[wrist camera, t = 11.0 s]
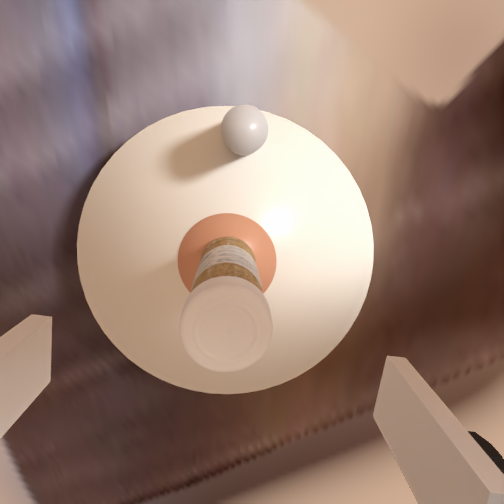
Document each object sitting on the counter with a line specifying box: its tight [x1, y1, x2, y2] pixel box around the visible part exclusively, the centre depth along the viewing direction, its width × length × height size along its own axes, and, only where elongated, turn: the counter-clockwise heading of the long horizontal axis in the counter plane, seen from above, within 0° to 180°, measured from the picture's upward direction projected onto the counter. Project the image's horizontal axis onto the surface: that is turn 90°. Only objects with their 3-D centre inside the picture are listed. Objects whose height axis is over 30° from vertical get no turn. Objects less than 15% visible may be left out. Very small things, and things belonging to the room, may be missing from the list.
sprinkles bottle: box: [179, 237, 273, 373], centre depth 25 cm, size 5×5×13 cm
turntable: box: [77, 104, 374, 394], centre depth 30 cm, size 24×24×7 cm
